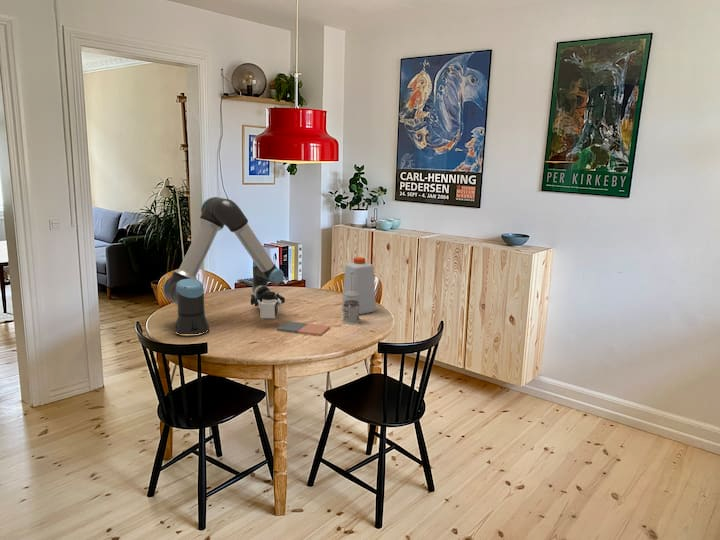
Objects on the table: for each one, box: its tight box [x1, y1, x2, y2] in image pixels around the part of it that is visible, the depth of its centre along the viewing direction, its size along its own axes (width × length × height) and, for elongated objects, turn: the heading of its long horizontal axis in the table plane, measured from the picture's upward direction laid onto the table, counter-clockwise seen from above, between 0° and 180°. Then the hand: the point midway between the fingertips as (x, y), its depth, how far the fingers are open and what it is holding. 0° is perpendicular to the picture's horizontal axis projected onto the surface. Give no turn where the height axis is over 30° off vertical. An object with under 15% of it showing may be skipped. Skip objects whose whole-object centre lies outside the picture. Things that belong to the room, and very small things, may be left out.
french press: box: [341, 271, 362, 325], centre depth 267 cm, size 10×12×25 cm
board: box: [275, 320, 331, 337], centre depth 255 cm, size 12×22×1 cm, turn 71°
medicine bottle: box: [259, 290, 279, 319], centre depth 258 cm, size 7×7×12 cm
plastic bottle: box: [341, 256, 377, 315], centre depth 283 cm, size 15×15×28 cm
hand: (270, 305), depth 254 cm, fingers closed on medicine bottle, 9 cm apart
